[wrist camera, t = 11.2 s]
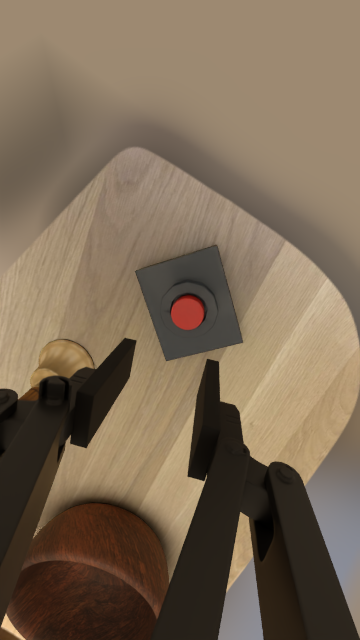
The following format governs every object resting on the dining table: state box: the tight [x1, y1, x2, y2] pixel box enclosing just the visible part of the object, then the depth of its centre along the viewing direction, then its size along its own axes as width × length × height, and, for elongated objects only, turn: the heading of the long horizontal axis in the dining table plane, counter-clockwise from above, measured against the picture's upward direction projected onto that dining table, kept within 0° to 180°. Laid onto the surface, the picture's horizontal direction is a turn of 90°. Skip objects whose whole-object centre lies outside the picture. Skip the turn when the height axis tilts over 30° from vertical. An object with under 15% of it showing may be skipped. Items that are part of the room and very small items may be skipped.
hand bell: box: [18, 340, 94, 401], centre depth 33 cm, size 8×8×16 cm
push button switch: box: [135, 245, 243, 361], centre depth 34 cm, size 12×10×4 cm
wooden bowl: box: [6, 503, 169, 640], centre depth 45 cm, size 25×25×10 cm
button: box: [171, 295, 204, 330], centre depth 32 cm, size 4×4×2 cm
